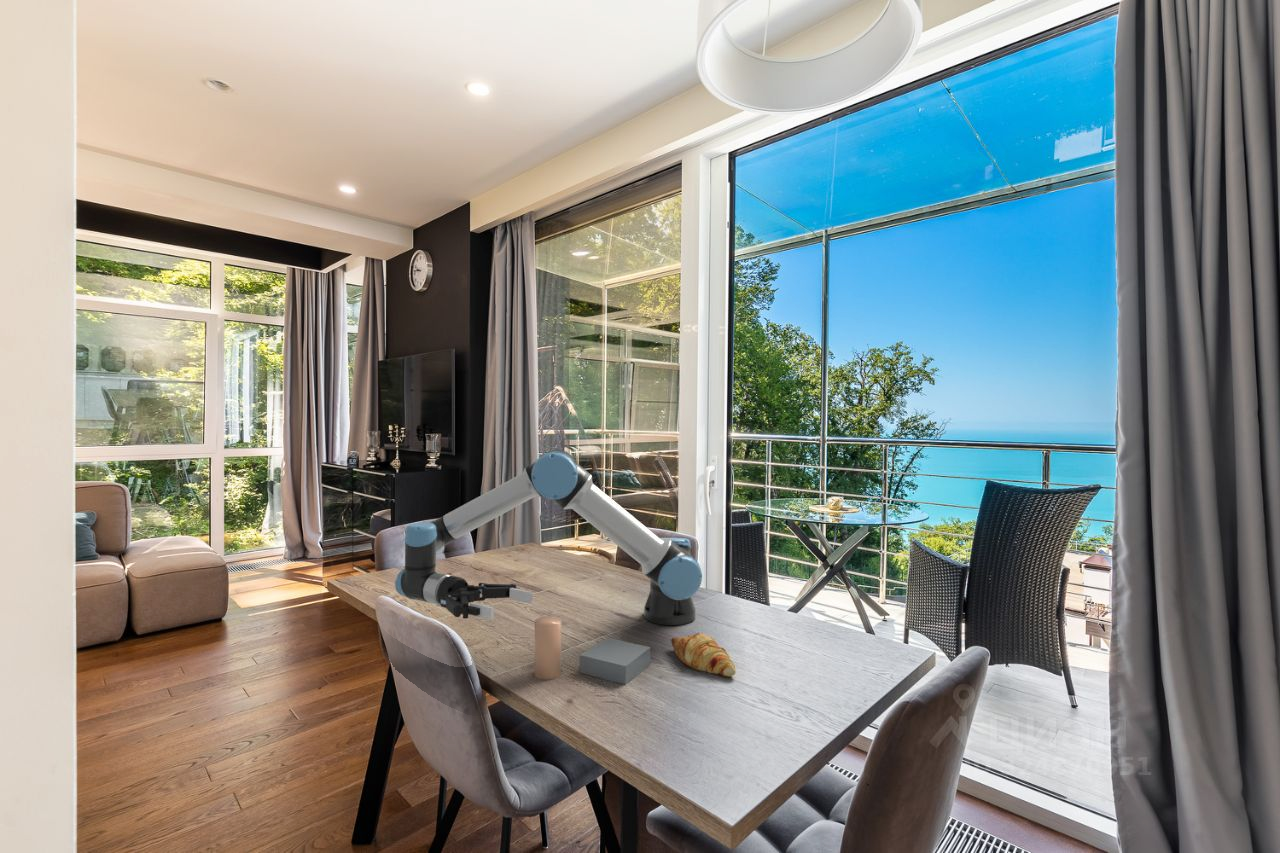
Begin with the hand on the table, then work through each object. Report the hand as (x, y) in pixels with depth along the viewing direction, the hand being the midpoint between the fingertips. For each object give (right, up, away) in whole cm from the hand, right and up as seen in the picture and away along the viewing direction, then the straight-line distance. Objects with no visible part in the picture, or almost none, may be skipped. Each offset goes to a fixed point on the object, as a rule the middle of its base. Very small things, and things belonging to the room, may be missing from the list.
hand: (512, 605), depth 135 cm
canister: (+9, -14, -4) cm, 17 cm away
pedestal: (+24, -14, -1) cm, 28 cm away
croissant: (+44, -15, +2) cm, 47 cm away
